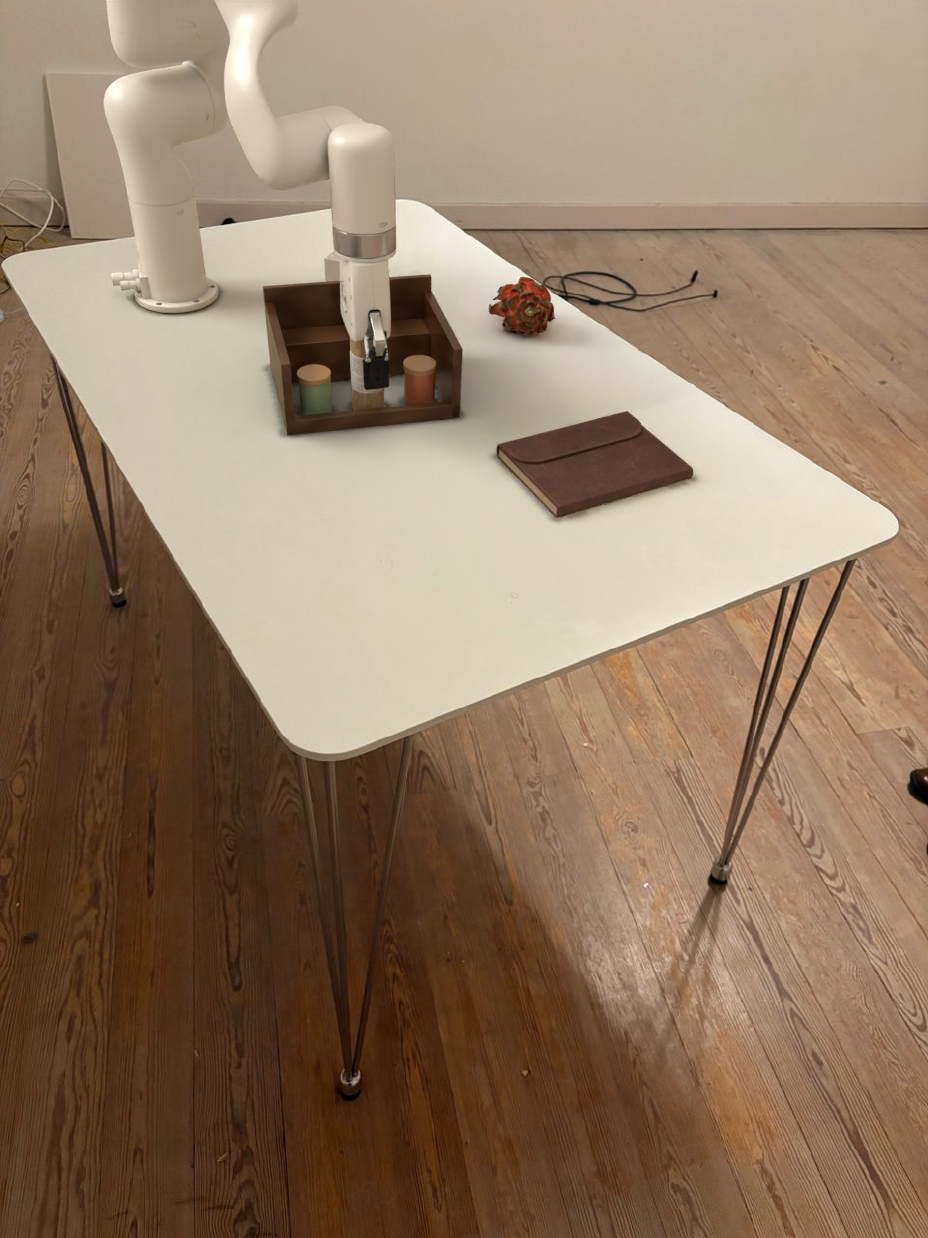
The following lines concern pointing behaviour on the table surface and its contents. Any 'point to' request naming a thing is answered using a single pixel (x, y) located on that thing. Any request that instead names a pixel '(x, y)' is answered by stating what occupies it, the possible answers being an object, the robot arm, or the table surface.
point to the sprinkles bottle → (362, 380)
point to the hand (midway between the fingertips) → (369, 369)
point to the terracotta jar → (419, 379)
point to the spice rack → (318, 335)
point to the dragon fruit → (524, 307)
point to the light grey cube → (332, 268)
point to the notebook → (592, 463)
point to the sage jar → (314, 389)
